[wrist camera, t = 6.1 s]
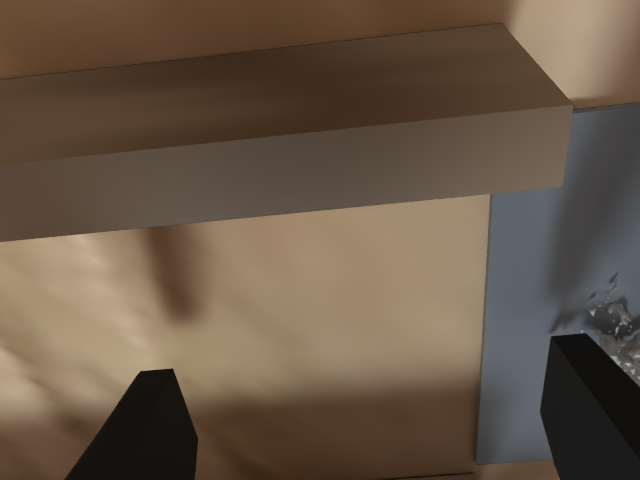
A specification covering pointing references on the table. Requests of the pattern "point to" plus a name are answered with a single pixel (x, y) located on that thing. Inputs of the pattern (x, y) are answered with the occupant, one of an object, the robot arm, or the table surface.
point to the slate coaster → (557, 276)
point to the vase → (621, 345)
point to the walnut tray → (279, 134)
